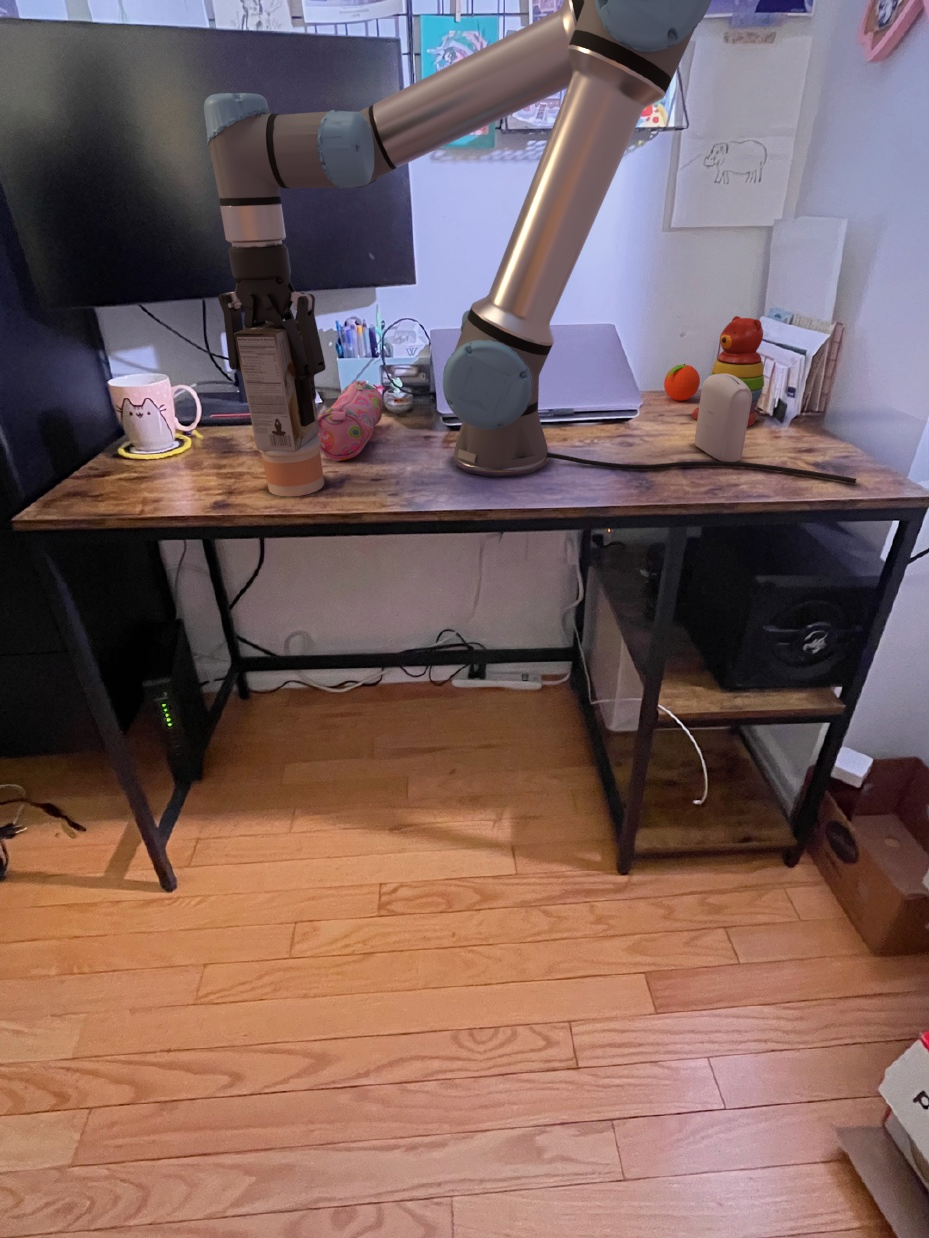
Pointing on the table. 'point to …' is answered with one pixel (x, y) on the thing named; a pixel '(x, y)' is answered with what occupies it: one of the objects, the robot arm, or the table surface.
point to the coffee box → (272, 388)
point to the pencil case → (350, 421)
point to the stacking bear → (742, 357)
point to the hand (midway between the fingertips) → (285, 421)
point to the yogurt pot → (294, 469)
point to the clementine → (681, 382)
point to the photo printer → (723, 417)
